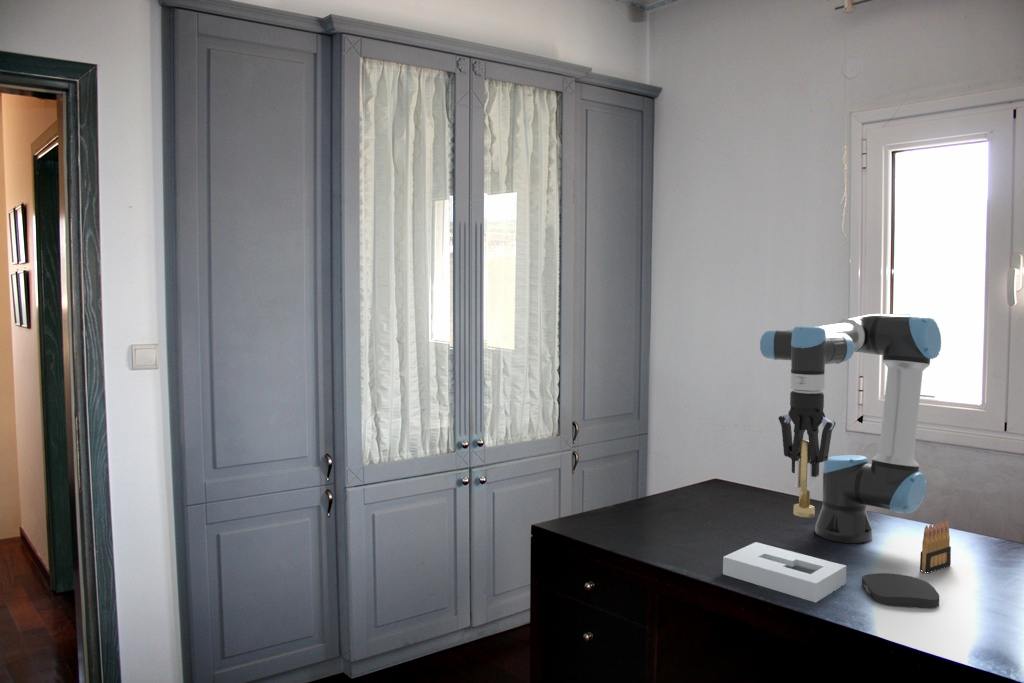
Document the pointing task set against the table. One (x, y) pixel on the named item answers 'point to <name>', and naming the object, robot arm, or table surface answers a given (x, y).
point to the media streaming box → (900, 590)
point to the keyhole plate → (785, 571)
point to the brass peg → (804, 484)
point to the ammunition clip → (935, 547)
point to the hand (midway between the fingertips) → (804, 488)
